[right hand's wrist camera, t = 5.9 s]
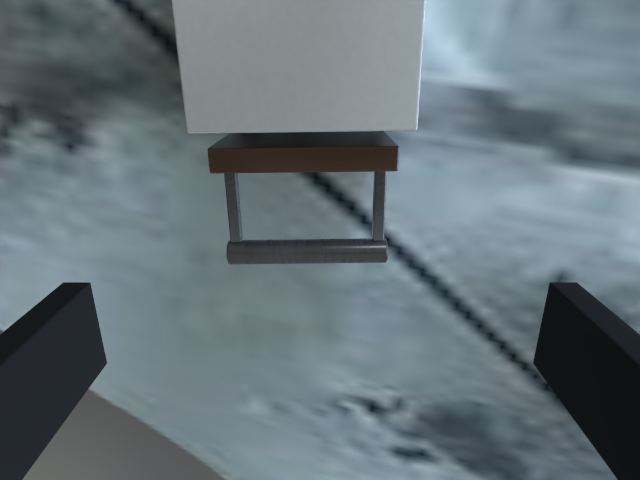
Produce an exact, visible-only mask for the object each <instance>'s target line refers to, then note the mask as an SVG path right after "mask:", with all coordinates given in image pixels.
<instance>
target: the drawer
mask: <svg viewBox="0 0 640 480" xmlns="http://www.w3.org/2000/svg"><path fill="white" fill-rule="evenodd" d="M208 157H209V167H210V173H224V175H225V186H226V197H227V208H228V219H229V230H230V241H228V244H227V260H228V263H229V264H303V263H385V262H387V257H388V245H387V240H386V239H384V221H385V197H386V173H387V171H397V170H398V158H399V146H398V145H397V144H396V143H395V142H394V141H393V140H392V139H391V138H390V137H389V136H388V135H387V134H385V133H384V132H383V131H352V132H273V133H230V134H229V135H227V136H226V137H224V138H223V139H221V140H220V141H218V142H217V143H215V144H214V145H213V146H211V147H210V148H208ZM363 171H374V190H373V222H372V238H373V239H298V240H242V239H243V236H242V223H241V211H240V198H239V186H238V173H280V172H363Z"/></svg>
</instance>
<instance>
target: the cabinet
mask: <svg viewBox="0 0 640 480" xmlns="http://www.w3.org/2000/svg"><path fill="white" fill-rule="evenodd" d="M171 1H172V10H173V18H174V27H175V35H176V44H177V52H178V61H179V69H180V78H181V86H182V95H183V103H184V112H185V120H186V129H187V133H189V134H194V133H273V132H352V131H415V130H417V125H418V110H419V94H420V79H421V63H422V48H423V32H424V16H425V1H426V0H171Z"/></svg>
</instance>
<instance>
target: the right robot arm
mask: <svg viewBox="0 0 640 480" xmlns="http://www.w3.org/2000/svg"><path fill="white" fill-rule="evenodd" d="M106 364H107V361H106V357H105V352H104V347H103V342H102V337H101V332H100V328H99V323H98V318H97V313H96V308H95V303H94V299H93V294H92V289H91V284H90V283H62V284H61V285H60V286H59V287H57V288H56V289H55V290H54V291H53V292H51V293H50V294H49V295H48V296H47V297H45V298H44V299H43V300H42V301H41V302H39V303H38V304H37V305H36V306H34V307H33V308H32V309H31V310H30V311H28V312H27V313H26V314H25V315H24V316H22V317H21V318H20V319H19V320H18V321H16V322H15V323H14V324H13V325H12V326H10V327H9V328H8V329H7V330H5V331H4V332H3V333H2V334H1V335H0V480H22V479H23V478H24V476H25V475H26V473H27V472H28V471H29V469H30V468H31V467H32V465H33V464H34V462H35V461H36V460H37V458H38V457H39V456H40V454H41V453H42V452H43V450H44V449H45V447H46V446H47V445H48V443H49V442H50V441H51V439H52V438H53V436H54V435H55V434H56V432H57V431H58V430H59V428H60V427H61V425H62V424H63V423H64V421H65V420H66V419H67V417H68V416H69V414H70V413H71V412H72V410H73V409H74V408H75V406H76V405H77V403H78V402H79V401H80V399H81V398H82V396H83V395H84V394H85V392H86V391H87V390H88V388H89V387H90V386H91V384H92V383H93V381H94V380H95V379H96V377H97V376H98V375H99V373H100V372H101V370H102V369H103V368H104V366H105V365H106ZM533 364H534V365H535V366H536V368H537V369H538V370H539V372H540V373H541V375H542V376H543V377H544V379H545V380H546V381H547V383H548V384H549V386H550V387H551V388H552V390H553V391H554V392H555V394H556V395H557V397H558V398H559V399H560V401H561V402H562V403H563V405H564V406H565V408H566V409H567V410H568V412H569V413H570V414H571V416H572V417H573V419H574V420H575V421H576V423H577V424H578V425H579V427H580V428H581V430H582V431H583V432H584V434H585V435H586V436H587V438H588V439H589V441H590V442H591V443H592V445H593V446H594V447H595V449H596V450H597V452H598V453H599V454H600V456H601V457H602V458H603V460H604V461H605V462H606V464H607V465H608V467H609V468H610V469H611V471H612V472H613V473H614V475H615V476H616V478H617V479H618V480H640V335H639V334H638V333H637V332H636V331H635V330H633V329H632V328H631V327H630V326H628V325H627V324H626V323H625V322H624V321H622V320H621V319H620V318H619V317H618V316H616V315H615V314H614V313H613V312H612V311H610V310H609V309H608V308H607V307H606V306H604V305H603V304H602V303H601V302H599V301H598V300H597V299H596V298H595V297H593V296H592V295H591V294H590V293H589V292H587V291H586V290H585V289H584V288H583V287H581V286H580V285H579V284H578V283H550V284H549V289H548V294H547V299H546V303H545V308H544V313H543V318H542V323H541V328H540V332H539V337H538V342H537V347H536V352H535V357H534V361H533Z"/></svg>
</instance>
